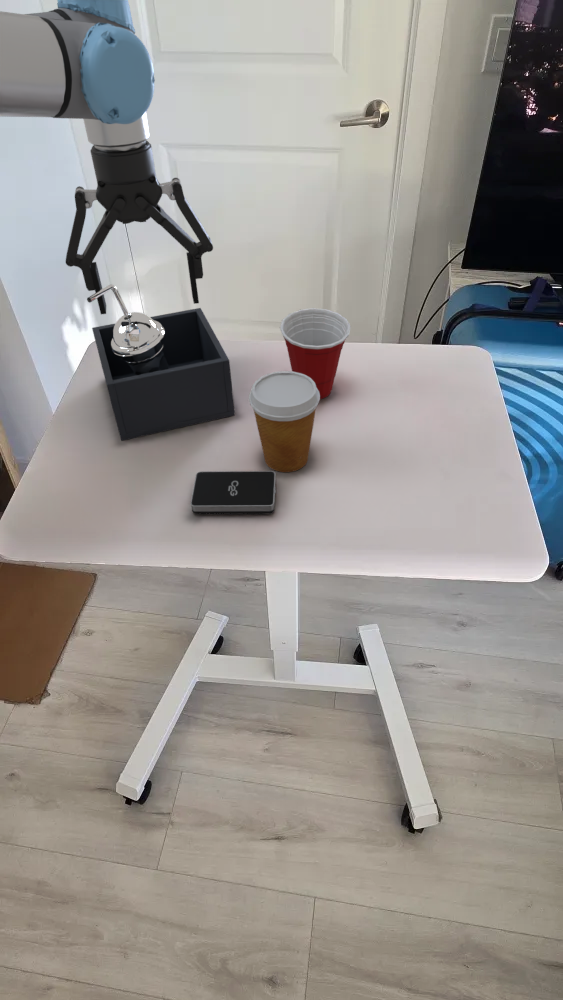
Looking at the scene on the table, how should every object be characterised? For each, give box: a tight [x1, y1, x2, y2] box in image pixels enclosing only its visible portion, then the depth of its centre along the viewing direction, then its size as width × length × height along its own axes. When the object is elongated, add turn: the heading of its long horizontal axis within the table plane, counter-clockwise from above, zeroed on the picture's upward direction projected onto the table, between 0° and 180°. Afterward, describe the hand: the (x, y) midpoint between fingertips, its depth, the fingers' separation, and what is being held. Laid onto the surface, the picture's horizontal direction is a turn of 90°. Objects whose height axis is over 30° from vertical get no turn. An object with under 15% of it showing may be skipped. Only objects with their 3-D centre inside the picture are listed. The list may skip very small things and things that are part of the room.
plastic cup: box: [279, 307, 352, 400], centre depth 99 cm, size 11×11×12 cm
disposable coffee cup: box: [248, 370, 321, 473], centre depth 87 cm, size 10×10×12 cm
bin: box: [91, 307, 236, 442], centre depth 100 cm, size 18×18×10 cm
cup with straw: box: [86, 283, 170, 375], centre depth 95 cm, size 8×9×20 cm
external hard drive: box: [190, 470, 277, 515], centre depth 84 cm, size 7×11×2 cm, turn 89°
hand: (150, 304), depth 92 cm, fingers open, 13 cm apart
